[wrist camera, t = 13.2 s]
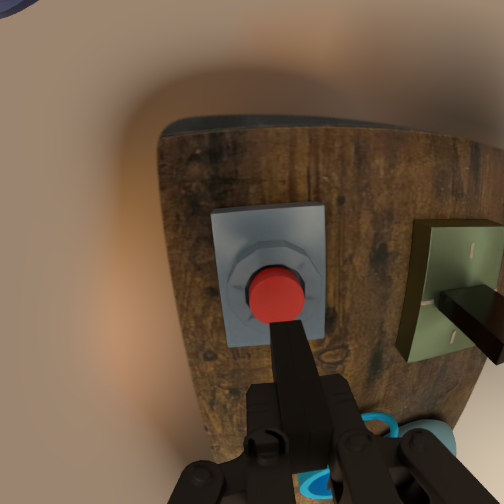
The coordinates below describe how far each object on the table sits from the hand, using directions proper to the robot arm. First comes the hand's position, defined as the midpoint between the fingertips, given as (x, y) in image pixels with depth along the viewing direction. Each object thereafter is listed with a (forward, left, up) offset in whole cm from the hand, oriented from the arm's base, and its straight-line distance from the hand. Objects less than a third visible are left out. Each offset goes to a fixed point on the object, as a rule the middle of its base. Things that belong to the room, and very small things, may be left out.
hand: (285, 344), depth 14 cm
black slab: (+11, +14, -8) cm, 19 cm away
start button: (0, 0, -7) cm, 7 cm away
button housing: (0, 0, -11) cm, 11 cm away
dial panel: (+11, +14, -11) cm, 21 cm away
